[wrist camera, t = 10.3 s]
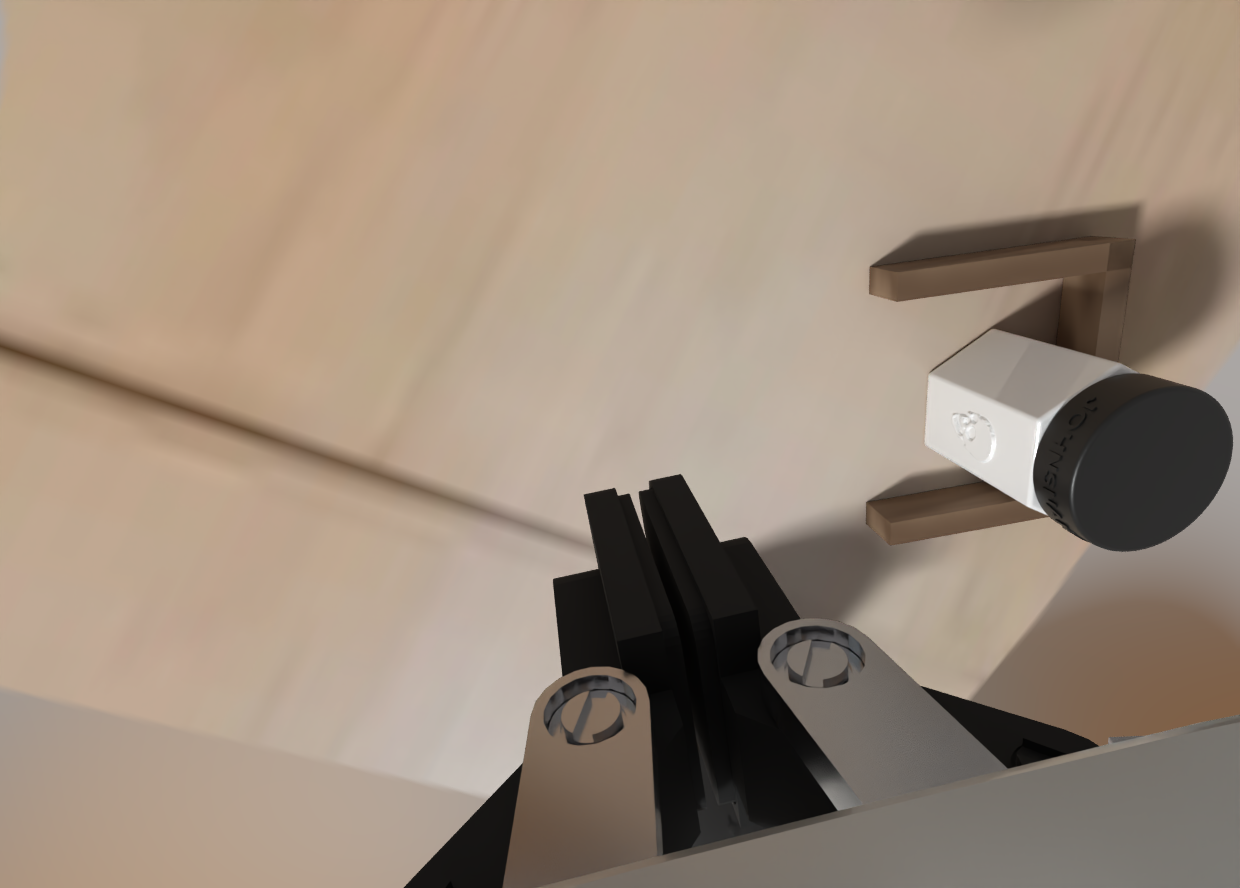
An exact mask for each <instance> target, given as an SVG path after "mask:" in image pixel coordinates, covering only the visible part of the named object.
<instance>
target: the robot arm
mask: <svg viewBox="0 0 1240 888" xmlns="http://www.w3.org/2000/svg"><path fill="white" fill-rule="evenodd" d="M584 499H585V504H586V509H587V514H588V519H589V524H590V529H591V534H592V539H593V544H594V549H595V553H596V558H597V563H598V568H599V569H596V570H591V571H587V572H582V573H578V574H573V575H569V576H564V577H559V578H555V579H553V587H554V597H555V607H556V617H557V627H558V637H559V646H560V656H561V666H562V676H563V677H561V678H559V679H558V680H556V681H555V682H554V683H553V684H551V685H550V686H549V687H547V688H546V689H545V690H544V692H543V693H542V694H541V695H540V697H539V698H538V699H537V701H536V702H535V705H534V708H533V711H532V713H531V717H530V723H529V729H528V735H527V741H526V748H525V754H524V760H523V763H522V764H521V765H520V767H519V768H518V769H517V770H516V771H515V772H514V773H513V774H512V775H511V776H510V777H509V778H508V779H507V780H506V781H505V782H504V783H503V784H502V785H501V786H500V787H499V788H498V790H497V791H496V792H495V793H494V794H493V795H492V796H491V797H490V798H489V799H488V800H487V801H486V802H485V803H484V804H483V805H482V806H481V807H480V808H479V809H478V810H477V812H476V813H475V814H474V815H473V816H472V817H471V818H470V819H469V820H468V821H467V822H466V823H465V824H464V825H463V826H462V827H461V828H460V829H459V830H458V831H457V832H456V833H455V834H454V835H453V837H452V838H451V839H450V840H449V841H448V842H447V843H446V844H445V845H444V846H443V847H442V848H441V849H440V850H439V851H438V852H437V853H436V854H435V855H434V856H433V858H431V860H430V861H429V862H428V863H427V864H426V865H425V866H424V867H423V868H422V869H421V870H420V871H419V872H418V873H417V874H416V875H415V876H414V877H413V878H412V879H411V881H410V882H409V883H408V884H407V885H406V886H405V887H404V888H1240V715H1236V716H1231V717H1226V718H1221V719H1216V720H1212V721H1206V722H1201V723H1197V724H1193V725H1189V726H1185V727H1181V728H1176V729H1172V730H1168V731H1164V732H1160V733H1156V734H1151V735H1147V736H1131V737H1109V741H1108V745H1104V746H1098V745H1097V744H1095V743H1094V742H1092V741H1090V740H1089V739H1086V738H1084V737H1082V736H1079V735H1076V734H1074V733H1072V732H1069V731H1066V730H1064V729H1061V728H1057V727H1054V726H1051V725H1048V724H1044V723H1041V722H1038V721H1035V720H1031V719H1028V718H1024V717H1021V716H1018V715H1015V714H1011V713H1008V712H1005V711H1002V710H998V709H995V708H992V707H988V706H985V705H982V704H978V703H975V702H972V701H969V700H965V699H962V698H959V697H956V696H952V695H949V694H946V693H942V692H939V691H936V690H933V689H929V688H926V687H923V686H920V685H919V684H918V683H916V682H915V681H914V680H913V679H912V678H911V677H910V676H909V675H908V674H907V673H906V672H905V671H904V670H903V669H902V668H901V667H900V666H898V665H897V664H896V663H895V662H894V661H893V660H892V659H891V658H890V657H889V656H888V655H887V654H886V653H885V652H884V651H883V650H881V649H880V648H879V647H878V646H877V645H876V644H875V643H874V642H873V641H872V640H871V639H870V638H869V637H868V636H866V635H865V634H863V633H862V632H861V631H859V630H858V629H856V628H855V627H852V626H850V625H847V624H845V623H842V622H840V621H835V620H829V619H823V618H808V619H800V617H799V616H798V614H797V613H796V611H795V610H794V608H793V607H792V605H791V604H790V602H789V600H788V599H787V597H786V596H785V594H784V593H783V591H782V590H781V588H780V587H779V585H778V584H777V582H776V580H775V579H774V577H773V576H772V574H771V573H770V571H769V570H768V568H767V567H766V565H765V563H764V562H763V560H762V559H761V557H760V556H759V554H758V553H757V551H756V550H755V548H754V547H753V545H752V543H751V542H750V541H749V540H748V538H746V537H742V538H738V539H733V540H728V541H724V542H719V540H718V538H717V536H716V534H715V533H714V531H713V529H712V527H711V526H710V524H709V522H708V520H707V519H706V517H705V515H704V513H703V511H702V510H701V508H700V506H699V504H698V503H697V501H696V499H695V497H694V496H693V494H692V492H691V490H690V488H689V487H688V485H687V483H686V481H685V480H684V478H683V476H682V475H681V474H679V475H674V476H670V477H665V478H660V479H655V480H651V481H649V490H644V491H639V499H640V505H641V511H642V517H643V523H644V529H645V535H646V538H645V535H644V532H643V529H642V527H641V524H640V521H639V518H638V516H637V513H636V510H635V508H634V505H633V502H632V499H631V497H630V494H625V495H620V496H618V495H617V492H616V489H615V488H613V489H608V490H603V491H598V492H594V493H589V494H584ZM696 739H697V740H696ZM697 743H698V746H699V749H700V752H701V755H702V758H703V761H704V764H705V767H706V770H707V773H708V776H709V779H710V782H711V785H712V789H713V792H714V795H715V798H716V800H717V803H718V805H719V806H720V805H724V804H728V803H732V804H733V807H734V810H735V813H736V816H737V819H738V821H739V824H740V827H741V828H744V827H748V826H752V825H756V824H757V825H759V826H761V827H763V828H765V829H764V830H760V831H756V832H752V833H749V834H745V835H741V836H737V837H733V838H729V839H725V840H721V841H717V842H713V843H709V844H705V845H701V846H697V847H693V848H691V847H692V846H693V844H694V843H695V841H696V839H697V838H698V836H699V835H700V833H701V830H700V824H699V818H698V812H697V811H700V810H704V809H707V804H706V797H705V791H704V784H703V778H702V772H701V765H700V759H699V752H698V746H697Z"/></svg>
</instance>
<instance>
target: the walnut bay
mask: <svg viewBox="0 0 1240 888" xmlns="http://www.w3.org/2000/svg"><path fill="white" fill-rule="evenodd" d="M1135 241H1136V239H1124V238H1110V237H1096V236H1090V237H1083V238H1075V239H1068V240H1061V241H1054V242H1046V243H1039V244H1032V245H1025V246H1017V247H1010V248H1003V249H996V250H988V251H981V252H974V253H967V254H959V255H952V256H945V257H938V258H930V259H923V260H916V261H909V262H902V263H894V264H887V265H880V266H873V267H870V284H869V294H871V295H875V296H878V297H882V298H886V299H889V300H893V301H896V302H899V301H906V300H912V299H919V298H926V297H933V296H940V295H947V294H954V293H961V292H968V291H975V290H982V289H989V288H996V287H1003V286H1010V285H1017V284H1023V283H1030V282H1037V281H1044V280H1051V279H1058V278H1064V280H1063V289H1062V298H1061V307H1060V316H1059V325H1058V334H1057V343H1056V346H1060V347H1063V348H1067V349H1071V350H1074V351H1078V352H1082V353H1085V354H1089V355H1093V356H1096V357H1100V358H1103V359H1107V360H1111V361H1114V362H1118V359H1119V352H1120V345H1121V338H1122V331H1123V324H1124V317H1125V311H1126V304H1127V297H1128V290H1129V283H1130V276H1131V269H1132V262H1133V255H1134V248H1135ZM1045 517H1049V516H1047V515H1045V514H1043V513H1040V512H1038V511H1036V510H1033V509H1031V508H1029V507H1027V506H1025V505H1023V504H1022V503H1020V502H1018V501H1017V500H1015V499H1013V498H1012V497H1010V496H1008V495H1007V494H1005V493H1003V492H1002V491H1000V490H998V489H997V488H995V487H993V486H992V485H990V484H988V483H987V482H979V483H973V484H968V485H962V486H956V487H951V488H945V489H939V490H933V491H928V492H922V493H916V494H911V495H905V496H899V497H893V498H888V499H882V500H876V501H870V502H866V524H867V525H868V526H869V527H870V528H872V529H873V530H874V531H875V532H876V533H877V534H878V535H879V536H880V537H881V538H882V539H884V540H885V541H886V542H887V543H888V544H889V545H890V546H891V545H896V544H902V543H907V542H913V541H918V540H924V539H929V538H935V537H940V536H946V535H951V534H957V533H962V532H968V531H973V530H979V529H984V528H990V527H995V526H1001V525H1006V524H1012V523H1017V522H1023V521H1028V520H1034V519H1039V518H1045Z"/></svg>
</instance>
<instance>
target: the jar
mask: <svg viewBox="0 0 1240 888" xmlns="http://www.w3.org/2000/svg"><path fill="white" fill-rule="evenodd" d="M924 443H925V445H926V446H927V447H928V448H930V449H932V450H933V451H935V452H937V453H938V454H940V455H942V456H943V457H945V458H947V459H948V460H950V461H952V462H953V463H955V464H957V465H958V466H960V467H962V468H963V469H965V470H967V471H968V472H970V473H972V474H973V475H975V476H977V477H978V478H980V479H982V480H983V481H985V482H987V483H988V484H990V485H992V486H993V487H995V488H997V489H998V490H1000V491H1002V492H1003V493H1005V494H1007V495H1008V496H1010V497H1012V498H1013V499H1015V500H1017V501H1018V502H1020V503H1022V504H1023V505H1025V506H1027V507H1029V508H1031V509H1033V510H1036V511H1038V512H1040V513H1043V514H1045V515H1047V516H1049V517H1050V518H1051V519H1053V520H1054V521H1055V522H1057V523H1059V524H1060V525H1062V526H1063V528H1064V529H1065V530H1067V531H1069V532H1070V533H1072V534H1074V535H1075V536H1077V537H1079V538H1080V539H1082V540H1085V541H1087V542H1090V543H1092V544H1094V545H1096V546H1098V547H1101V548H1104V549H1107V550H1112V551H1122V552H1123V551H1136V550H1142V549H1146V548H1149V547H1152V546H1155V545H1158V544H1160V543H1162V542H1164V541H1166V540H1168V539H1170V538H1172V537H1174V536H1175V535H1177V534H1178V533H1180V532H1181V531H1182V530H1184V529H1185V528H1186V527H1188V526H1189V525H1190V524H1191V523H1192V522H1194V521H1195V520H1196V519H1197V518H1198V517H1199V516H1200V515H1201V514H1202V512H1203V511H1204V510H1205V509H1206V508H1207V507H1208V506H1209V504H1210V503H1211V501H1212V500H1213V499H1214V497H1215V496H1216V494H1217V492H1218V491H1219V489H1220V487H1221V485H1222V483H1223V481H1224V479H1225V477H1226V474H1227V471H1228V469H1229V465H1230V461H1231V457H1232V449H1233V435H1232V429H1231V424H1230V421H1229V418H1228V416H1227V414H1226V412H1225V411H1224V409H1223V407H1222V406H1221V405H1220V404H1219V402H1218V401H1216V399H1214V398H1213V397H1212V396H1210V395H1209V394H1207V393H1206V392H1204V391H1202V390H1199V389H1197V388H1193V387H1190V386H1186V385H1183V384H1179V383H1175V382H1172V381H1168V380H1165V379H1161V378H1158V377H1154V376H1150V375H1146V374H1140V373H1138V372H1136V371H1135V370H1133V369H1131V368H1129V367H1127V366H1125V365H1123V364H1121V363H1118V362H1114V361H1111V360H1107V359H1103V358H1100V357H1096V356H1093V355H1089V354H1085V353H1082V352H1078V351H1074V350H1071V349H1067V348H1063V347H1060V346H1056V345H1052V344H1049V343H1045V342H1041V341H1038V340H1034V339H1031V338H1027V337H1023V336H1020V335H1016V334H1012V333H1009V332H1005V331H1001V330H998V329H991V330H989V331H988V332H987V333H985V334H984V335H983V336H981V337H980V338H978V339H977V340H976V341H974V342H973V343H971V344H970V345H969V346H967V347H966V348H964V349H963V350H962V351H960V352H959V353H957V354H956V355H955V356H953V357H952V358H950V359H949V360H948V361H946V362H945V363H943V364H942V365H941V366H939V367H938V368H936V369H935V370H933V371H932V372H931V373H930V374H929V376H928V391H927V408H926V425H925V440H924Z"/></svg>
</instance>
